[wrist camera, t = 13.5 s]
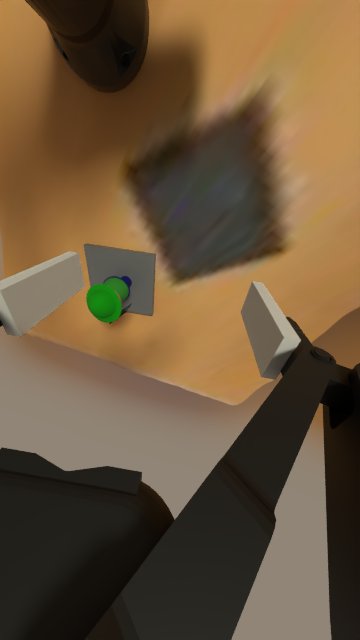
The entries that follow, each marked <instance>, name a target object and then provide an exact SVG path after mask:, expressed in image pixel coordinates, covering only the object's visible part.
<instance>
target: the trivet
mask: <svg viewBox="0 0 360 640" xmlns="http://www.w3.org/2000/svg"><path fill="white" fill-rule="evenodd" d="M84 249H85V255H86V261H87V267H88V273H89V279H90V285H91V287H92V286H93V285H96V284H103V283H104V281H105V280H106V279H107V278H108V277H111V276H116V277H119V278H121V277H122V276H127V277H129V278H130V279H131V281H132V284H131V286H130V287H129V288H130V295H129V297H128V298H127V299H126V300H125V301H123V302H122V304H121V311H122V310H123V309H124V308H126V307H127V306H128V305H130V304H131V303H132V304H131V305H130V307H129V308H128V310H127V312H132V313H139V314H145V315H153V308H154V284H155V260H156V254H153V253H146V252H139V251H133V250H126V249H119V248H112V247H105V246H98V245H92V244H84Z"/></svg>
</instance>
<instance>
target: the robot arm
mask: <svg viewBox="0 0 360 640" xmlns="http://www.w3.org/2000/svg"><path fill="white" fill-rule="evenodd" d="M25 1H26V2H27V3H28V4H29V5H30V6H31V7H32V8H33V9H34V10H35V11H36V12H37V14H38V15H39V16H40V17H41V18H42V19H43V20H44V21H45V22H46V24H47V26H48V28H49V30H50V32H51V35H52V37H53V39H54V41H55V43H56V45H57V47H58V49H59V51H60V52H61V54H62V56H63V57H64V59H65V60H66V62H67V63H68V65H69V66H70V67H71V68H72V70H73V71H74V72H75V73H76V74H77V75H78V76H79V77H80V78H81V79H82V80H83V81H85V82H86V83H87V84H88V85H90V86H91V87H93V88H95V89H97V90H99V91H103V92H115V91H119V90H121V89H123V88H124V87H126V86H127V85H128V84H129V83H130V82H131V81H132V80H133V79H134V77H135V76H136V74H137V73H138V71H139V69H140V67H141V65H142V62H143V59H144V56H145V52H146V48H147V42H148V34H149V9H148V0H25ZM84 287H85V285H84V280H83V274H82V268H81V262H80V256H79V253H76V252H70V251H69V252H66V253H64V254H62V255H59V256H57V257H55V258H52V259H50V260H48V261H45V262H43V263H41V264H38V265H36V266H34V267H31V268H29V269H26V270H24V271H22V272H19V273H17V274H15V275H12V276H10V277H8V278H5V279H3V280H1V281H0V327H1V326H2V325H3V327H4V329H5V331H6V333H7V334H9V335H15V336H22V335H24V334H25V333H26V332H27V331H29V330H30V329H31V328H32V327H34V326H35V325H36V324H38V323H39V322H40V321H41V320H43V319H44V318H45V317H47V316H48V315H49V314H50V313H52V312H53V311H54V310H55V309H57V308H58V307H59V306H61V305H62V304H63V303H64V302H66V301H67V300H68V299H70V298H71V297H72V296H73V295H75V294H76V293H77V292H79V291H80V290H81V289H82V288H84ZM241 315H242V318H243V321H244V324H245V327H246V330H247V333H248V337H249V340H250V343H251V346H252V349H253V352H254V355H255V359H256V362H257V365H258V368H259V371H260V374H261V377H264V378H270V379H276V378H277V377H278V375H279V374H280V372H281V373H282V376H283V377H282V379H281V380H280V381H279V383H278V384H277V385H276V387H275V388H274V389H273V391H272V392H271V393H270V395H269V396H268V398H267V399H266V400H265V401H264V403H263V404H262V405H261V407H260V408H259V410H258V411H257V412H256V414H255V415H254V416H253V418H252V419H251V420H250V422H249V423H248V424H247V426H246V427H245V428H244V430H243V431H242V433H241V434H240V435H239V436H238V438H237V439H236V440H235V442H234V443H233V445H232V446H231V447H230V449H229V450H228V451H227V453H226V454H225V455H224V456H223V458H221V460H220V461H219V462H218V463H217V465H216V466H215V467H214V469H213V470H212V471H211V473H210V474H209V475H208V477H207V478H206V479H205V481H204V482H203V483H202V485H201V486H200V487H199V489H198V490H197V491H196V493H195V494H194V495H193V497H192V498H191V499H190V501H189V502H188V503H187V505H186V506H185V507H184V509H183V510H182V511H181V513H180V514H179V515H178V517H177V518H176V519H175V520H174V518H173V516H172V514H171V512H170V510H169V508H168V507H167V505H166V504H165V502H164V501H163V499H162V498H161V497H160V496H159V495H158V494H157V493H156V491H154V490H153V489H152V488H151V487H150V486H148V485H147V484H145V483H143V482H142V481H141V478H142V472H138V471H132V470H126V469H121V468H115V467H109V466H105V467H97V468H90V469H83V470H75V471H64V470H62V469H60V468H59V467H57V466H55V465H54V464H52V463H51V462H49V461H47V460H46V459H44V458H42V457H41V456H39V455H37V454H36V453H30V452H24V451H19V450H13V449H7V448H1V449H0V640H231V639H232V636H233V633H234V631H235V628H236V626H237V623H238V621H239V618H240V616H241V613H242V611H243V608H244V605H245V603H246V601H247V598H248V596H249V593H250V591H251V588H252V586H253V583H254V581H255V578H256V575H257V573H258V571H259V568H260V565H261V563H262V560H263V558H264V555H265V553H266V550H267V548H268V545H269V543H270V540H271V538H272V535H273V532H274V529H275V522H276V518H275V515H274V510H275V507H276V504H277V502H278V499H279V497H280V494H281V492H282V490H283V488H284V485H285V483H286V481H287V478H288V476H289V473H290V471H291V469H292V466H293V464H294V462H295V459H296V457H297V455H298V452H299V450H300V448H301V445H302V443H303V440H304V438H305V436H306V434H307V431H308V429H309V427H310V424H311V422H312V420H313V417H314V415H315V412H316V410H317V408H318V406H319V403H321V404H323V425H324V454H325V480H326V481H325V483H326V484H325V485H326V512H327V543H328V572H329V602H330V623H331V636H332V640H360V363H359V364H357V365H356V366H355V367H354V368H353V369H349V368H346V367H343V366H340V365H338V364H336V361H335V359H334V357H333V356H331V355H330V354H329V353H328V352H326V351H324V350H323V349H320V348H318V347H314V346H313V345H312V344H311V343H310V341H309V340H308V338H307V337H306V336H305V334H303V331H302V330H301V329H300V327H299V326H298V325H297V323H296V322H295V321H293V320H292V319H291V318H290V317H285V316H284V314H283V313H282V311H281V310H280V308H279V307H278V305H277V304H276V302H275V301H274V299H273V298H272V296H271V295H270V293H269V292H268V290H267V289H266V287H265V286H264V284H263V283H261V282H255V281H252V283H251V286H250V289H249V291H248V294H247V297H246V300H245V302H244V305H243V308H242V310H241Z"/></svg>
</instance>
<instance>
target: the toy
mask: <svg viewBox="0 0 360 640" xmlns="http://www.w3.org/2000/svg"><path fill="white" fill-rule="evenodd" d="M131 284H132V281H131V279H130V278H129V277H127V276H122V277H121V278H119V277H116V276H111V277H108V278H107V279H106V280H105V281H104V283H103V284H96V285H93V286H92V287H91V288H90V289H89V290H88V293H87V305H88V308H89V310H90V312H91V313H92V314H93V315H94V316H95V317H96V318H97V319H99V320H100V321H103V322H110V323H112V322H113V321H115V320H117V319H118V318H119V317H120V316H122V315H123V314H124V313H126V312H127V310H128V308H129V307H130V305H131V304H132V303H131V304H130V305H128V306H127V307H126V308H124V309H123V310H122V311H121V304H122V302H123V301H125V300H126V299H127V298H128V297H129V295H130V288H129V287H130V286H131Z"/></svg>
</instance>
